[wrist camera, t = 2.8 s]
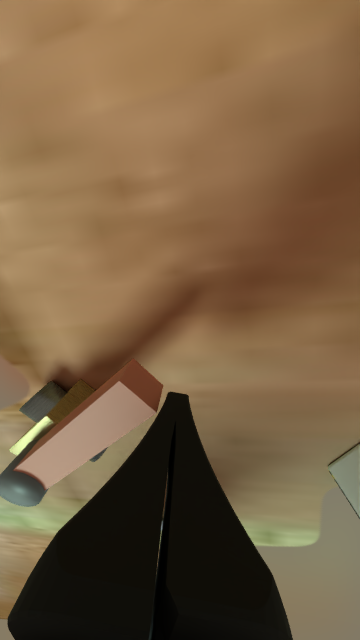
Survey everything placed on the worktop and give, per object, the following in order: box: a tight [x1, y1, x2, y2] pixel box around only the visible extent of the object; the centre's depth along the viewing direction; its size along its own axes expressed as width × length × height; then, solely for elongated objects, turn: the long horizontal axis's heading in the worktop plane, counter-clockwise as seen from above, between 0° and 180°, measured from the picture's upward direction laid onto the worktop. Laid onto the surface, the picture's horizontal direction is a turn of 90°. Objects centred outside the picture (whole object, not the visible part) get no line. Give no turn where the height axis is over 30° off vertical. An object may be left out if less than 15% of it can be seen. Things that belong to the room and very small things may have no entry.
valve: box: [9, 379, 108, 462], centre depth 16 cm, size 6×8×4 cm
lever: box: [0, 359, 163, 507], centre depth 11 cm, size 14×3×2 cm, turn 133°
